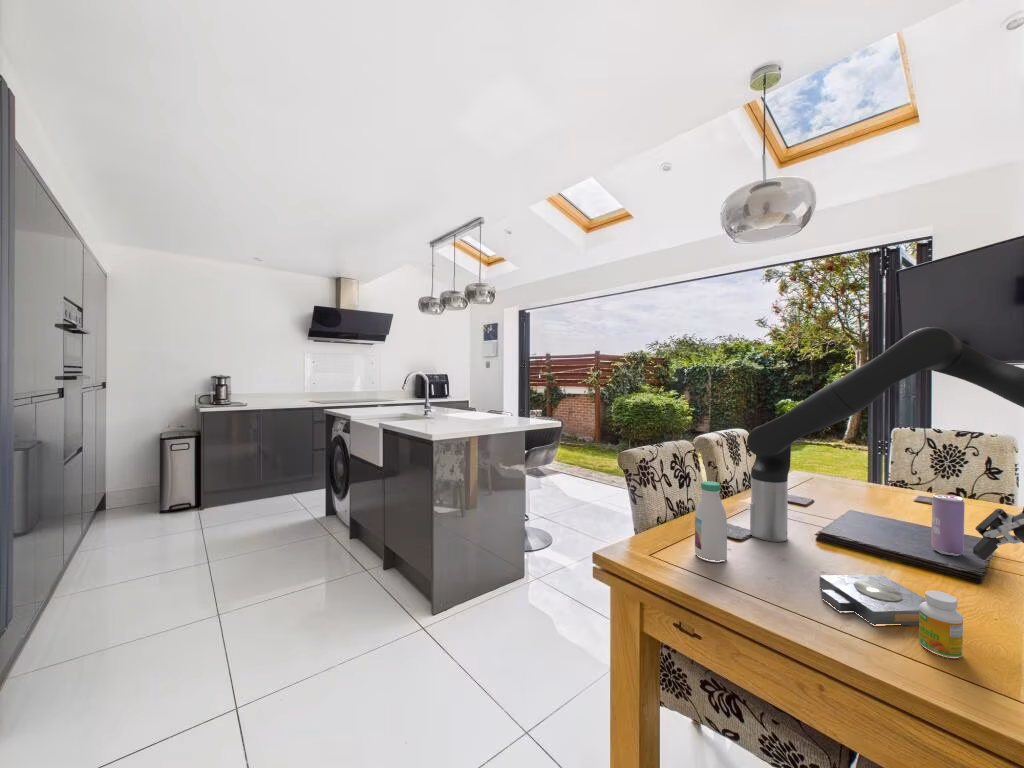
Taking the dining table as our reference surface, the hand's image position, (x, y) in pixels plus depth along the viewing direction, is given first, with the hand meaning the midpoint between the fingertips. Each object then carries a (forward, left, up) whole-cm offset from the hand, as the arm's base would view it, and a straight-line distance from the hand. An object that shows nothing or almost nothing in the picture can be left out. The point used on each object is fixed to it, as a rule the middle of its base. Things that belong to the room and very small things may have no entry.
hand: (1005, 567), depth 74 cm
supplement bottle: (-9, -7, -15) cm, 19 cm away
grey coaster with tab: (-17, +4, -14) cm, 23 cm away
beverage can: (+3, +47, -15) cm, 50 cm away
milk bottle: (-49, +11, -15) cm, 53 cm away
